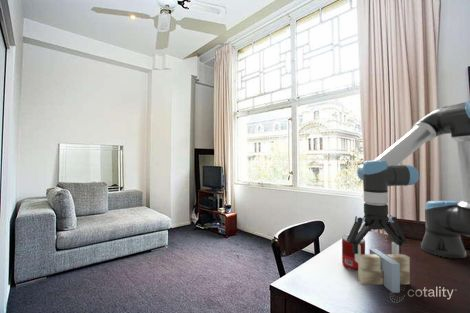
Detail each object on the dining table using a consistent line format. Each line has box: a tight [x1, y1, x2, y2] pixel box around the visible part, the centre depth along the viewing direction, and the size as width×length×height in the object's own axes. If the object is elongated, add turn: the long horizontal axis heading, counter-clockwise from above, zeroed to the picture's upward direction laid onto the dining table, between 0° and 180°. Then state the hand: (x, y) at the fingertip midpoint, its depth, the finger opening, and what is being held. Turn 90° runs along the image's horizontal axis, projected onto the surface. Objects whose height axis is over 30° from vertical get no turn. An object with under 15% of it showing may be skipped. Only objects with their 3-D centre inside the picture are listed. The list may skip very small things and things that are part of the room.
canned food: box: [341, 234, 366, 272], centre depth 89 cm, size 8×8×11 cm
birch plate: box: [357, 253, 411, 285], centre depth 78 cm, size 16×2×9 cm, turn 90°
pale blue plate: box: [369, 248, 401, 294], centre depth 78 cm, size 12×2×9 cm, turn 0°
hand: (376, 262), depth 82 cm, fingers open, 13 cm apart
